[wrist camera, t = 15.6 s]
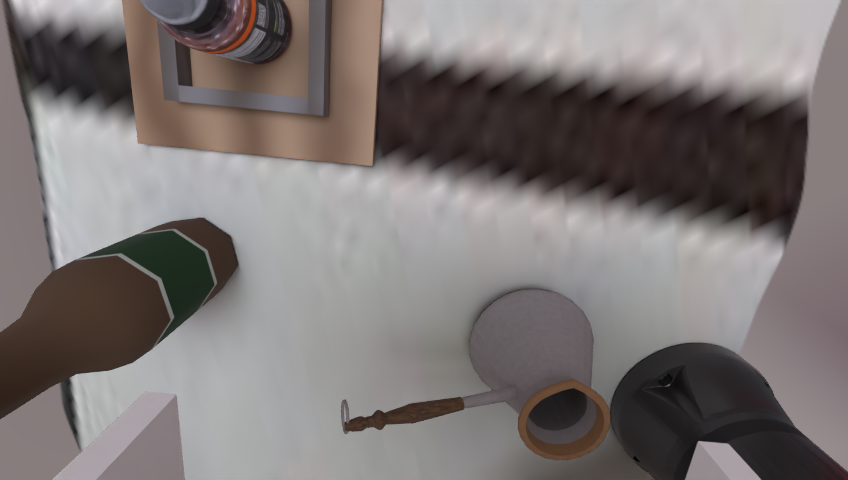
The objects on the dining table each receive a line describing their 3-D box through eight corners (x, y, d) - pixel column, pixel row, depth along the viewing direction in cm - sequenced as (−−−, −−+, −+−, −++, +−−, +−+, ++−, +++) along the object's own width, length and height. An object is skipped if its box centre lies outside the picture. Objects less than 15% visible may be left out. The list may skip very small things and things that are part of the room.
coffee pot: (593, 283, 39) (688, 381, 25) (569, 384, 42) (640, 522, 28) (371, 262, 39) (337, 350, 24) (365, 366, 42) (332, 496, 28)
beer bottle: (141, 239, 38) (-288, 426, 15) (206, 199, 37) (-155, 337, 14) (193, 304, 40) (-117, 557, 17) (257, 268, 39) (12, 488, 16)
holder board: (389, -109, 30) (385, -132, 27) (373, 164, 36) (368, 169, 33) (116, -138, 30) (82, -165, 27) (145, 142, 36) (121, 145, 33)
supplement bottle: (204, -3, 31) (86, -64, 20) (275, -31, 31) (193, -109, 20) (238, 76, 33) (146, 58, 22) (306, 51, 32) (246, 21, 22)
